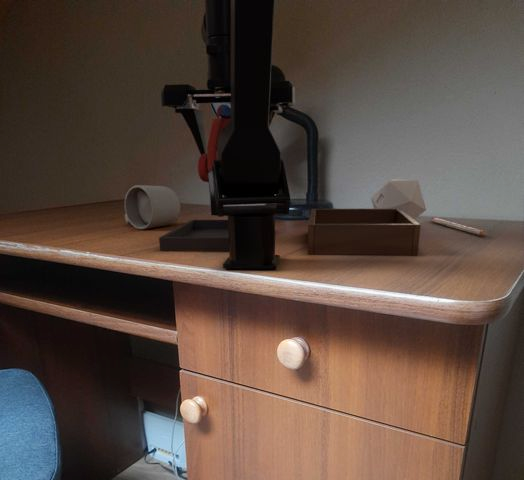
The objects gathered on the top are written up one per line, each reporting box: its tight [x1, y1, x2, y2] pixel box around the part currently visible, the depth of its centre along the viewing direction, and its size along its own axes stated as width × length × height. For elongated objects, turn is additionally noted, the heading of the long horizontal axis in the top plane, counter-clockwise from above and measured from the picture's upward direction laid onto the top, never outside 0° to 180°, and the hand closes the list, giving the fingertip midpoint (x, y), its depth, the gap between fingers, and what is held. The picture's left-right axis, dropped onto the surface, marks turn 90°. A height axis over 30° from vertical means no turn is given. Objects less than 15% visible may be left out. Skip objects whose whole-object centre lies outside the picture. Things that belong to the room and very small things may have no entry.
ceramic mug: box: [124, 184, 182, 231], centre depth 93 cm, size 11×8×8 cm
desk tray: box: [158, 219, 229, 252], centre depth 79 cm, size 19×13×2 cm
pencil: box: [430, 217, 488, 236], centre depth 86 cm, size 1×19×1 cm, turn 8°
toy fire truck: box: [197, 103, 231, 183], centre depth 73 cm, size 7×12×10 cm, turn 154°
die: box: [370, 178, 427, 221], centre depth 88 cm, size 8×9×10 cm
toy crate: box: [307, 208, 422, 256], centre depth 74 cm, size 19×15×4 cm
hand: (231, 160), depth 74 cm, fingers closed on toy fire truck, 8 cm apart
